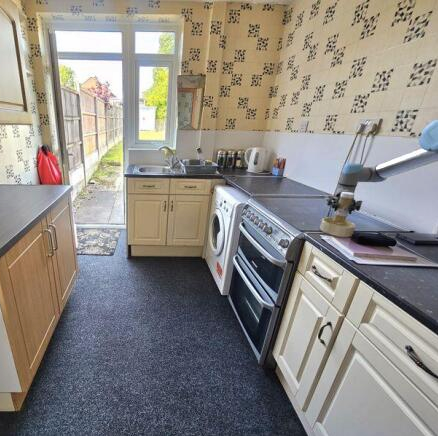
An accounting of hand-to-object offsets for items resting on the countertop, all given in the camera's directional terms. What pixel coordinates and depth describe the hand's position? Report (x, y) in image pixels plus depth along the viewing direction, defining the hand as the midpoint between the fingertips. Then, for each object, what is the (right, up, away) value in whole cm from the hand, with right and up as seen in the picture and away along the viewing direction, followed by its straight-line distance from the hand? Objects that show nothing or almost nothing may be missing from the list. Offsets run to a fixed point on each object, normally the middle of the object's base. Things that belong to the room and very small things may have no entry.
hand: (343, 209), depth 104 cm
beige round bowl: (+3, -10, +8) cm, 13 cm away
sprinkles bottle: (+3, -5, +7) cm, 9 cm away
